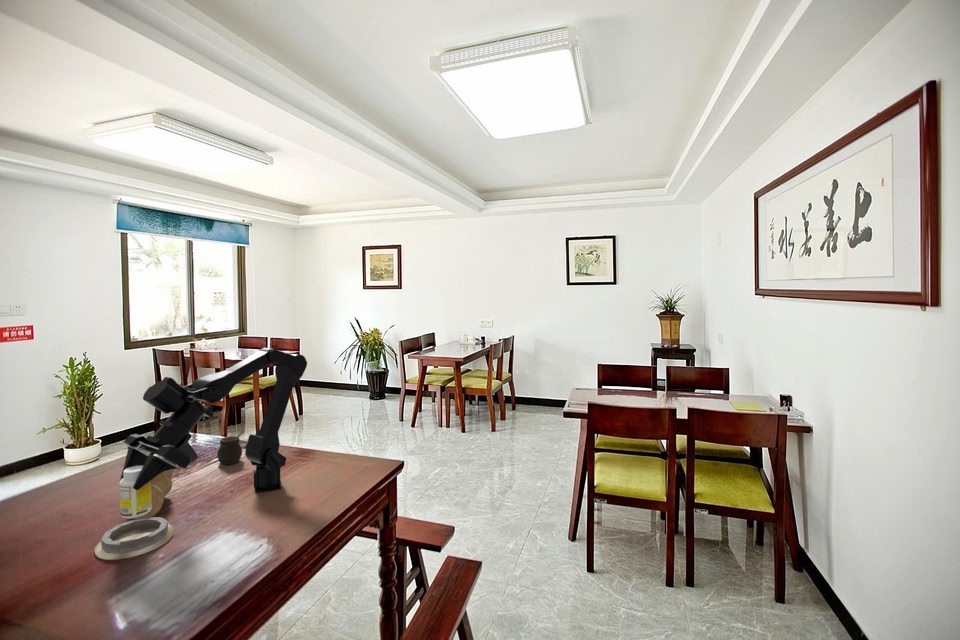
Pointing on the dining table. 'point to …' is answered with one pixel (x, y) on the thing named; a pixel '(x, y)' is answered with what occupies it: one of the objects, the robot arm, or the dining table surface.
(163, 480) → the pipe
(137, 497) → the supplement bottle
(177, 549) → the dining table surface
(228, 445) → the mate gourd
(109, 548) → the holder ring
